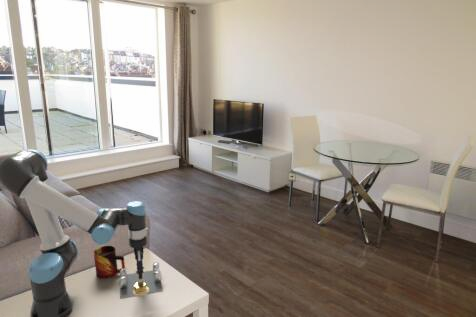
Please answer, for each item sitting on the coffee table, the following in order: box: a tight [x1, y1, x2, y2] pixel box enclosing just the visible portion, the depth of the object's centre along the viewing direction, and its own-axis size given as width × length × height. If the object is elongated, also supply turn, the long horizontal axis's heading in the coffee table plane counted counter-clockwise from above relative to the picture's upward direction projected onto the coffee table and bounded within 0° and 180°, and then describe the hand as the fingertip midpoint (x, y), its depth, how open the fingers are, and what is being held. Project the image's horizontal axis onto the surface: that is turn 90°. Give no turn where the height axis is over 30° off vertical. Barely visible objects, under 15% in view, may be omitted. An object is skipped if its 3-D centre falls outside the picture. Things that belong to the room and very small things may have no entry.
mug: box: [93, 245, 126, 280], centre depth 164 cm, size 10×14×12 cm
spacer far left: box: [119, 266, 128, 278], centre depth 160 cm, size 3×3×5 cm
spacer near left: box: [118, 276, 127, 290], centre depth 154 cm, size 3×3×5 cm
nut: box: [134, 282, 146, 293], centre depth 152 cm, size 5×4×2 cm
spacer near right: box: [154, 269, 162, 283], centre depth 158 cm, size 3×3×5 cm
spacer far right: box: [152, 262, 160, 274], centre depth 164 cm, size 3×3×5 cm
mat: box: [119, 269, 164, 300], centre depth 157 cm, size 18×18×1 cm
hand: (140, 283), depth 155 cm, fingers closed
